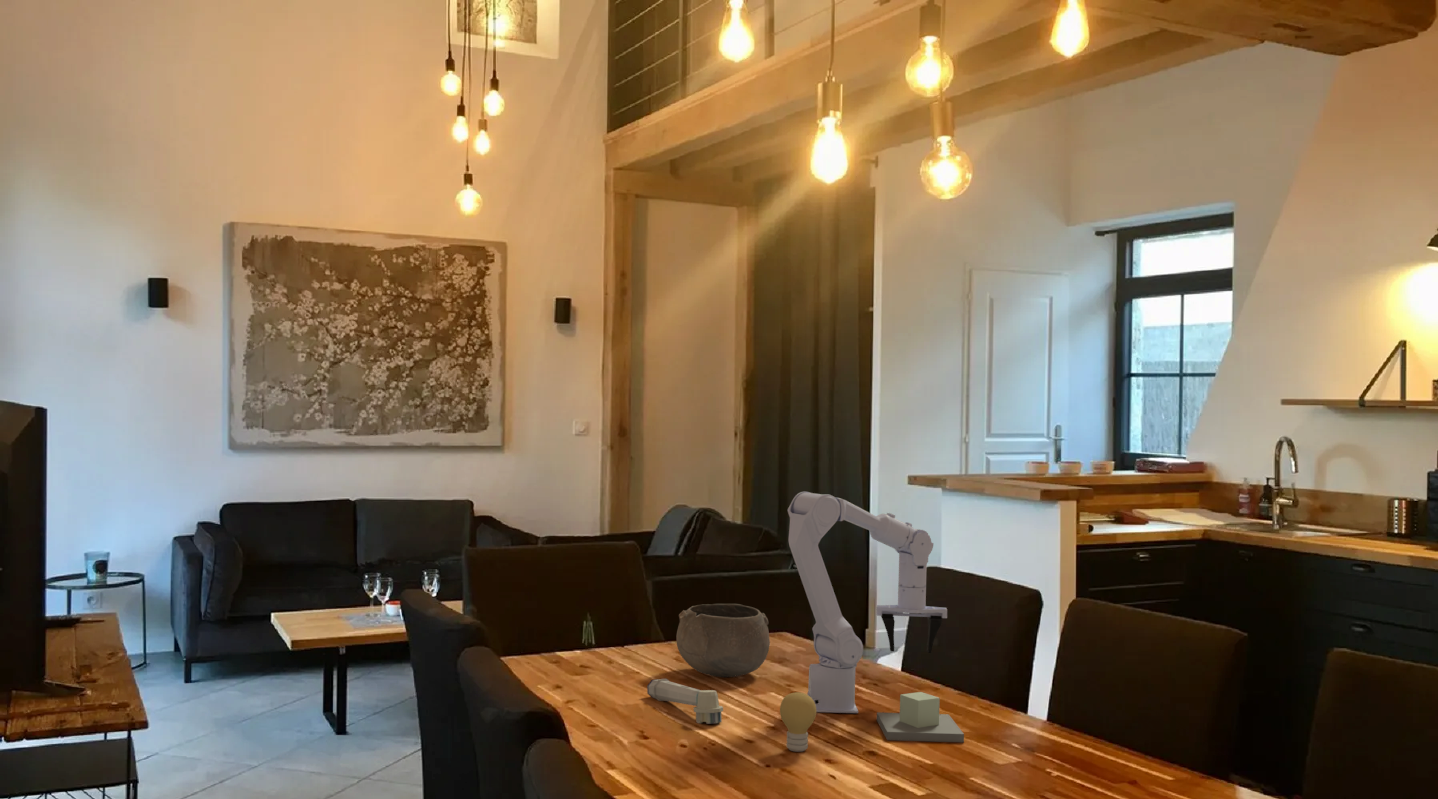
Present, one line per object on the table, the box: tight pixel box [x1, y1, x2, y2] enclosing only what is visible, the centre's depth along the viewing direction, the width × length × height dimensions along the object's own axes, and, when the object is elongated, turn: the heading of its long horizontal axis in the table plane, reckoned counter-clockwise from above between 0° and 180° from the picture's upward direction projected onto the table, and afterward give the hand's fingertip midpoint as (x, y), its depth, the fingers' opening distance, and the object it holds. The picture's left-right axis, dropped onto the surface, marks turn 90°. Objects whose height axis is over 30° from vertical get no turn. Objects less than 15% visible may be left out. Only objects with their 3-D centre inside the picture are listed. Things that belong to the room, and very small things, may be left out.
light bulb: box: [779, 691, 817, 753], centre depth 201 cm, size 6×6×10 cm
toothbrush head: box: [646, 678, 724, 724], centre depth 227 cm, size 5×7×25 cm
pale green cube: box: [899, 691, 941, 728], centre depth 216 cm, size 5×5×5 cm
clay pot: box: [676, 603, 771, 678], centre depth 259 cm, size 21×21×15 cm
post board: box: [876, 711, 965, 743], centre depth 216 cm, size 14×14×5 cm
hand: (910, 651), depth 239 cm, fingers open, 7 cm apart
